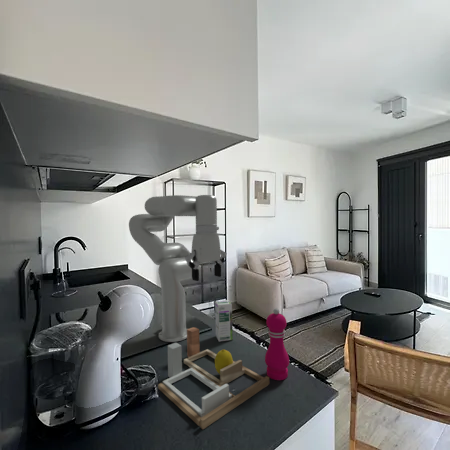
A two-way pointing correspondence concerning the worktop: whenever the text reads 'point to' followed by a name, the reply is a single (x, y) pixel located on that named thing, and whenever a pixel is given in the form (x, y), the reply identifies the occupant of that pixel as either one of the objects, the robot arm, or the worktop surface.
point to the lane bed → (223, 408)
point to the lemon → (222, 360)
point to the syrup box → (223, 320)
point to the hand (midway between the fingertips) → (207, 278)
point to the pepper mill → (276, 347)
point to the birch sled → (194, 353)
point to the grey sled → (175, 374)
